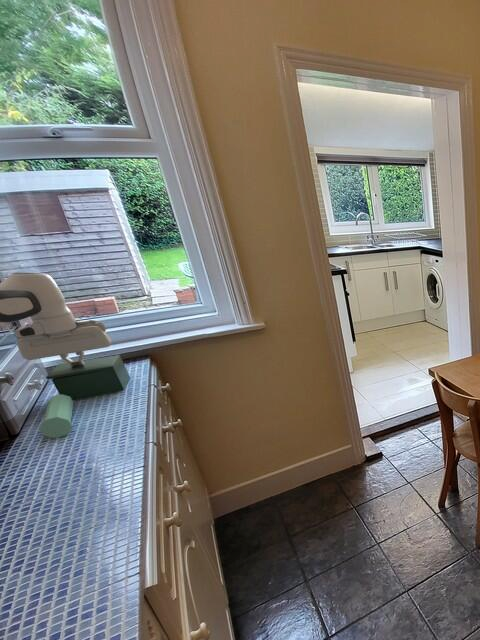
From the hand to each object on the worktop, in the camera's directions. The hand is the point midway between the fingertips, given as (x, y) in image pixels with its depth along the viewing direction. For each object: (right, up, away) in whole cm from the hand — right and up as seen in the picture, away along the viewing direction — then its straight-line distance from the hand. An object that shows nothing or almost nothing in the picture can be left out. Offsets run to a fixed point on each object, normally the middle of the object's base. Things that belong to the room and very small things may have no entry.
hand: (78, 365), depth 133 cm
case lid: (+1, 0, +1) cm, 2 cm away
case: (+2, -8, +5) cm, 9 cm away
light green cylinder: (+12, -17, -15) cm, 26 cm away
